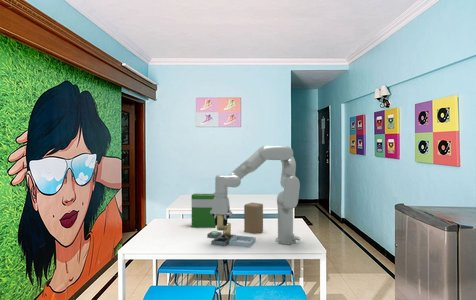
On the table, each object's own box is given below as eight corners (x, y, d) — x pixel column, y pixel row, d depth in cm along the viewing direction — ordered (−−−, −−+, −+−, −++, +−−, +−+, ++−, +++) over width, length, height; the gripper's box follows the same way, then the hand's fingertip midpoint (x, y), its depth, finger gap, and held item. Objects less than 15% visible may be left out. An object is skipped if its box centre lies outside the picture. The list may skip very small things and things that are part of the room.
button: (218, 235, 204) (218, 231, 204) (216, 237, 200) (216, 232, 200) (213, 235, 205) (213, 230, 205) (210, 236, 202) (210, 232, 202)
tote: (255, 242, 192) (255, 237, 192) (248, 249, 181) (248, 243, 181) (236, 240, 197) (236, 235, 197) (229, 246, 185) (229, 240, 185)
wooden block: (251, 230, 222) (251, 202, 222) (263, 232, 216) (263, 203, 216) (243, 233, 214) (243, 204, 214) (256, 235, 208) (256, 205, 208)
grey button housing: (221, 237, 205) (221, 232, 205) (217, 240, 198) (217, 235, 198) (212, 236, 207) (212, 231, 207) (207, 239, 201) (207, 234, 201)
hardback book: (216, 225, 235) (216, 193, 235) (215, 227, 228) (215, 195, 228) (193, 224, 237) (193, 193, 237) (191, 227, 230) (191, 195, 229)
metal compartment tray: (223, 238, 203) (223, 233, 203) (236, 239, 199) (236, 235, 199) (211, 246, 186) (211, 241, 186) (225, 248, 183) (225, 243, 183)
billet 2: (231, 238, 198) (231, 223, 198) (228, 241, 193) (228, 225, 193) (224, 237, 200) (224, 222, 200) (221, 240, 195) (221, 224, 195)
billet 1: (223, 230, 186) (223, 214, 185) (215, 230, 187) (215, 213, 187) (226, 228, 190) (226, 212, 190) (218, 228, 192) (219, 211, 192)
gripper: (205, 195, 188) (205, 225, 188) (231, 197, 182) (231, 228, 182) (211, 193, 195) (211, 222, 195) (236, 195, 189) (236, 225, 189)
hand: (221, 224), depth 189 cm, fingers closed on billet 1, 5 cm apart
